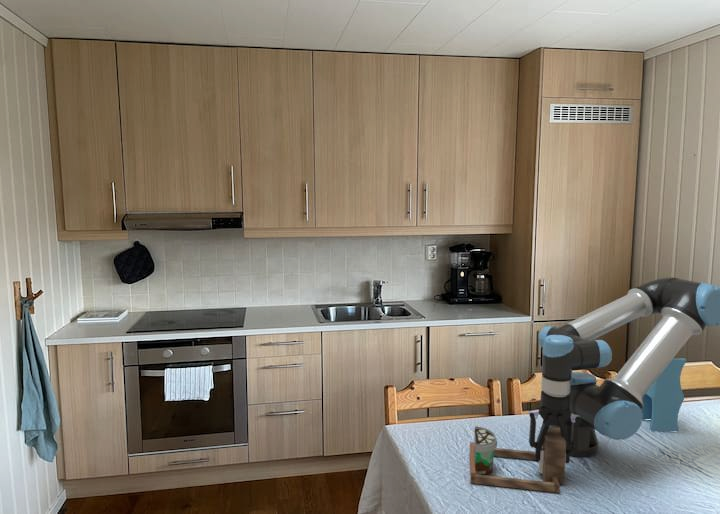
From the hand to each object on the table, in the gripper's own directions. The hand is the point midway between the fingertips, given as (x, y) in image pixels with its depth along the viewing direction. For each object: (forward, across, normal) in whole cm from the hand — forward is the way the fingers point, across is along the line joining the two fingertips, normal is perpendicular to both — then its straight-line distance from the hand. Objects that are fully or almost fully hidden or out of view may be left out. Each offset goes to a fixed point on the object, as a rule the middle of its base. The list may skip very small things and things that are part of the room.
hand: (551, 471), depth 143 cm
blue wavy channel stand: (+2, -41, -41) cm, 58 cm away
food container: (+1, +18, 0) cm, 18 cm away
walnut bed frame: (+1, +10, 0) cm, 10 cm away
